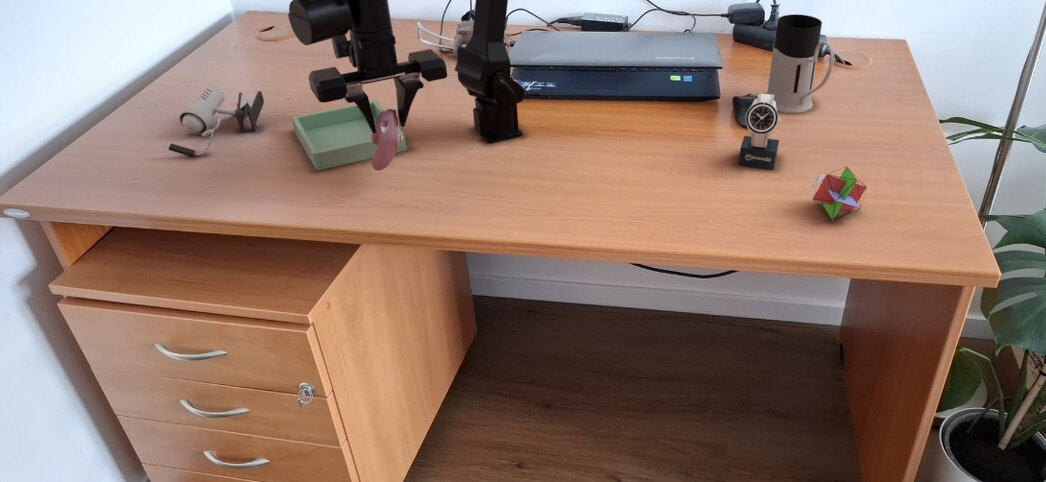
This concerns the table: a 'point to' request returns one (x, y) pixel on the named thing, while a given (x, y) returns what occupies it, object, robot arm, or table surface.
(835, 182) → the geometric puzzle
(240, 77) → the table surface
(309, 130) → the tray
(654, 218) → the table surface
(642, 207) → the table surface
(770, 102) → the watch
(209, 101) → the clip-on lamp
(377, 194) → the table surface
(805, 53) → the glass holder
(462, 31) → the elephant statuette
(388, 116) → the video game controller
